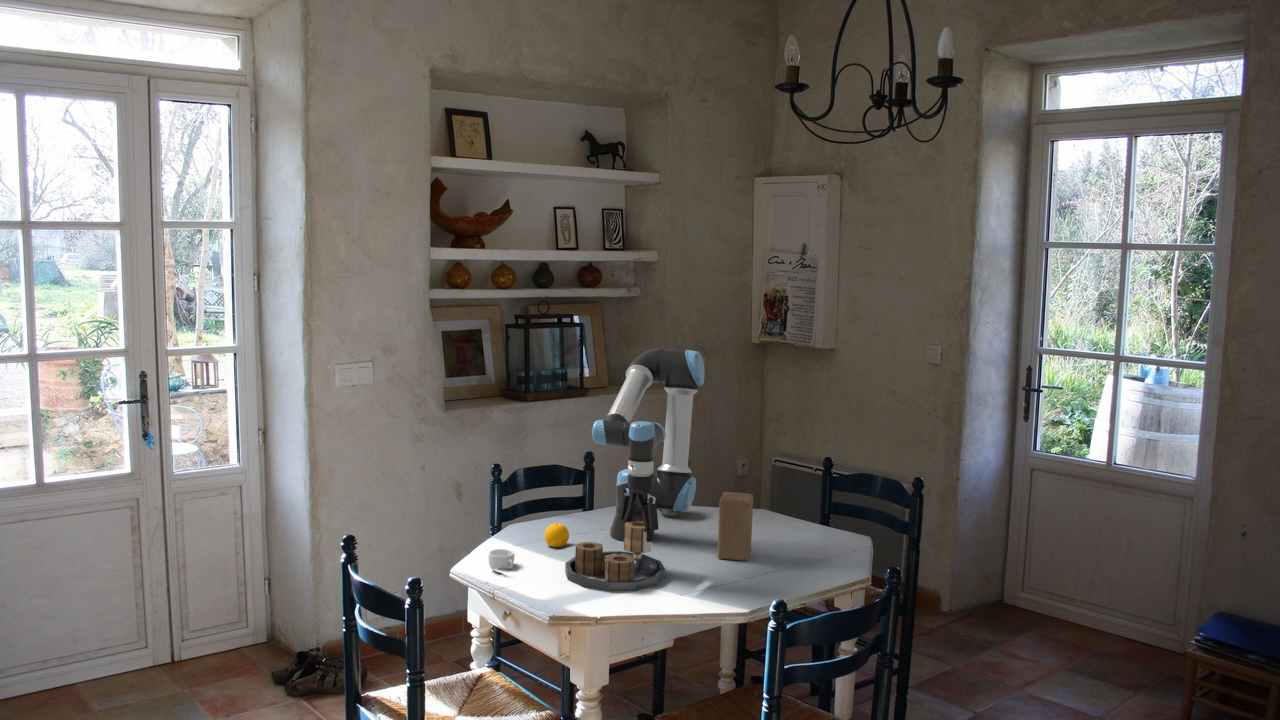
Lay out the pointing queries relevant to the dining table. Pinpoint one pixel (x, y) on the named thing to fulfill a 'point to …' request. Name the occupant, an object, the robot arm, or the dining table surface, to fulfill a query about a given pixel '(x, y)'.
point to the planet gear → (634, 536)
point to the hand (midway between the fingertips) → (637, 548)
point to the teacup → (501, 559)
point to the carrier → (644, 577)
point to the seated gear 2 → (619, 568)
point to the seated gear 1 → (588, 558)
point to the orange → (556, 535)
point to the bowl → (669, 513)
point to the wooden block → (735, 526)
